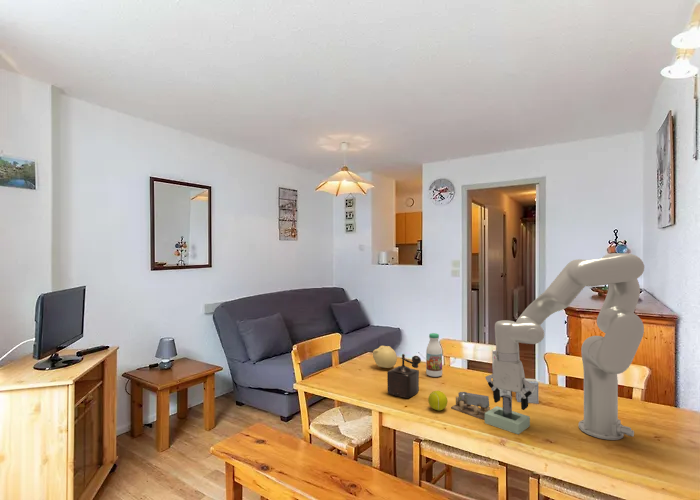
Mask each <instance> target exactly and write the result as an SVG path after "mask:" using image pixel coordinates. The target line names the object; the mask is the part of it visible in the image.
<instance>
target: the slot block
mask: <svg viewBox="0 0 700 500" xmlns="http://www.w3.org/2000/svg"><path fill="white" fill-rule="evenodd" d="M530 421H531V417H530V416H529V415H526V414H523V413H520V412H516V411H514V410H512V419H509V418H506V417H503V407H500V406H497V405H496V406H494V407H493V408H490V410H489V411H488V412H486V413H485V420H484V424H487V425H490V426H493V427H495V428H499V429H501V430H505V431H507V432H510V433H513V434H514V435H515V434H516V435H520V434H521V433H522V432H524V431H526V430H527V429H528V428H529V427H530V426H531V424H530V423H531V422H530Z"/></svg>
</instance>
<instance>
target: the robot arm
mask: <svg viewBox="0 0 700 500" xmlns="http://www.w3.org/2000/svg"><path fill="white" fill-rule="evenodd" d="M644 271H645V264H644V261H643V259H641V258H640V257H639V256H638V255H635V254H632V253H622V252H620V253H618V252H613V253H608V254H605V255H603V256H602V258H593V259H580V258H579V259H573V260H570V261H569V262H568V263H567V264H566V266H564V268H563V269H562V270H561V271H560V272H559V273H558V275H557V276H556V277H555V279H554V280H553V281H552V282H551V283H550V284H549V286H548V287H547V288H546V289H545V290H544V291H543V292H542V293H541V294H540V295H538V296H537V298H535V299H534V300H533V301H532V302H531V303H530V304H528V305H527V307H526V308H525V309H524V310H523V311H522V313H521V314H520V315H519V317H518V318H517V319H516V321H513V320H508V319H506V320H505V319H504V320H502V319H501V320H498V321H496V322H495V323H494V336H495V337H494V338H495V339H494V340H495V350H496V351H493V354H494V355H496V358H495V359H494V363H493V367H492V373H491V374H489V375H486V376H485V380H486V382H487V385H488V386H489V387H490V389H491V392H492V397H493V400H494V401H493V402H494V403H495V404H497V403H499V402H500V401H501V396H500V390H499V389H503V390H508V391H512V393H516V392H519V393H520V395H521V396H522V398H521V402H520V408H521V411H525V410H526V409H528V407H529V403H528V396H530V395H531V394H532V393H533V391H534V389H535V386H534V385H532V384H531V383H530V382H528V381H527V380H525V378H526V375H525V371H524V365H523V363H522V360H520V346H519V343H521V344H526V345H528V344H529V345H536V344H539V343H541V342H542V341H543V339H545V331H544V329H543V327H542V324H543V323H544V322H545V320H546V319H548V318H549V317H550V316H551V315H554V314H555V313H557V312H560V311H563V310H565V309H567V308H568V307H570V305H571V304H572V302H574V300H575V299H576V298H577V297H578V296H579V294H580V293H581V292H582V291H583V289H585V288H586V287H599V286H608V290H607V294H606V296H605V299H604V300H603V304H602V306H601V308H600V311H599V312H598V315H597V318H596V325H597V327H598V329H599V330H600V331H601V332H603V333H604V336H601V335H592V336H589V337H587V338H586V339H585V340H584V341H583V343H582V345H581V348H580V350H581V359H582V367H583V420H579V422H578V429H579V430H580V431H582V432H583V433H585V434H587V435H589V436H592V437H594V438H597V439H601V440H608V441H619V440H622V439H623V438H624V436H625V435H626V436H629V437H635V436H634V435H635V430H632V427H629V426H626V425H623V424H622V422H621V419H619V418H618V415H619V413H618V412H619V408H618V407H619V401H618V400H619V399H618V397H619V396H618V395H619V393H618V391H619V390H618V389H619V388H618V387H619V384H618V383H619V382H618V381H619V378H618V375H619V374H623V373H624V372H626V371H627V370H628V369H630V368H629V367H630V366H631V364H632V363H633V360H634V358H635V356H636V354H637V351H638V349H639V347H640V345H641V342H642V339H643V337H644V334H645V326H644V323H643V321H642V318H640V316H639V315H637V314H635V310H636V308H637V305H638V302H639V299H640V294H641V293H640V292H641V287H640V284H639V280H638V279H639V278H640V277H641V276H642V275H643V273H644ZM526 386H527V387H528V388H529V390H528V392H527V391H526V390H525V387H526ZM498 388H499V389H498Z"/></svg>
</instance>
